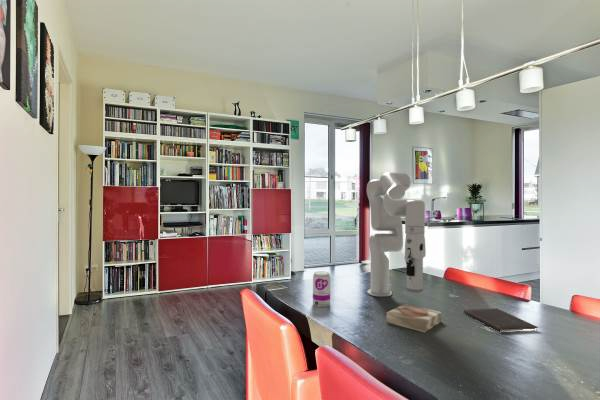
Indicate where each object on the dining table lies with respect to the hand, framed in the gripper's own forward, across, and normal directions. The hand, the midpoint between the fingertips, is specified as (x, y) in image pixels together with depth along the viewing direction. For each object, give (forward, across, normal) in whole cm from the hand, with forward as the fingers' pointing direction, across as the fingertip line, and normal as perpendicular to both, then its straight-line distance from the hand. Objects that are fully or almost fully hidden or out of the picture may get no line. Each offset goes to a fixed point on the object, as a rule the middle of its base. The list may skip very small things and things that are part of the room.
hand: (414, 274), depth 146 cm
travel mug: (+7, 0, 0) cm, 7 cm away
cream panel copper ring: (+20, 0, 0) cm, 20 cm away
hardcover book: (+20, +24, -25) cm, 40 cm away
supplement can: (+20, -8, +42) cm, 47 cm away
